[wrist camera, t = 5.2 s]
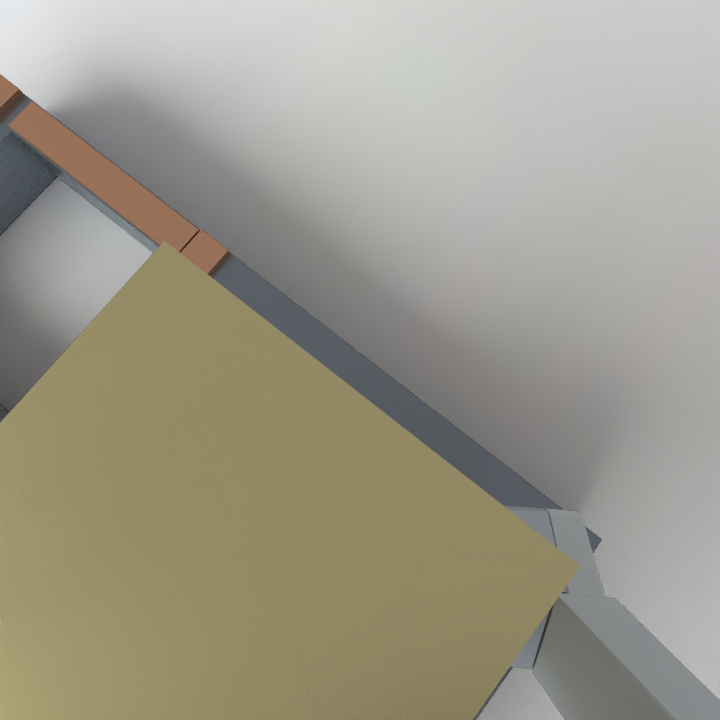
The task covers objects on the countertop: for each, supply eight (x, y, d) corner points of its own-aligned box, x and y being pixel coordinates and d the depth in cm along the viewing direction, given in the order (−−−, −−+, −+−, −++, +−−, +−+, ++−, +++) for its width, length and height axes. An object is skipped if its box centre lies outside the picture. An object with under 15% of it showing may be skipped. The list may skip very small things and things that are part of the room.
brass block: (442, 520, 17) (581, 565, 5) (336, 661, 16) (204, 1099, 4) (313, 416, 17) (163, 240, 6) (207, 547, 17) (-210, 655, 5)
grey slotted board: (571, 534, 16) (605, 540, 14) (379, 802, 15) (378, 863, 13) (33, 117, 20) (-18, 60, 17) (-158, 311, 18) (-244, 281, 16)
